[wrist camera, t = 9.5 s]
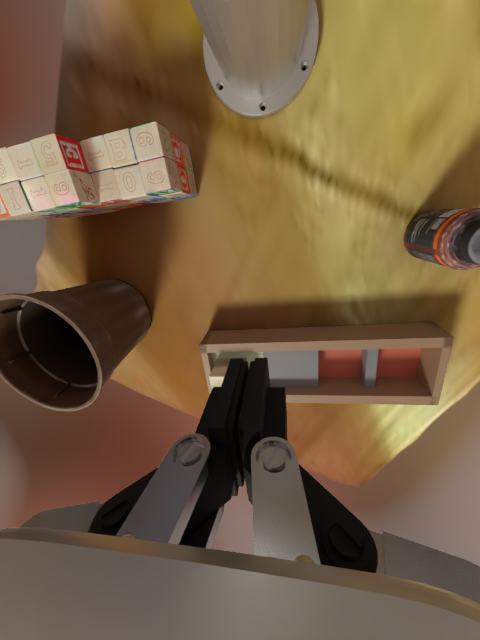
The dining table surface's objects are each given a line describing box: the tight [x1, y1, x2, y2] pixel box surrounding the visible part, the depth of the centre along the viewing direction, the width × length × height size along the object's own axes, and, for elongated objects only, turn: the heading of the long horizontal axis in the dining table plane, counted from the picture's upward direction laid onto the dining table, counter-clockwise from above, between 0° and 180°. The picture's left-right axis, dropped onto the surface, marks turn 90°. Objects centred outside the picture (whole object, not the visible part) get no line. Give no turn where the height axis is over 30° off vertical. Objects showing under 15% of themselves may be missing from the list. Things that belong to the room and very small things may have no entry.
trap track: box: [200, 322, 454, 405], centre depth 39 cm, size 11×34×5 cm, turn 97°
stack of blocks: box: [0, 121, 198, 220], centre depth 30 cm, size 21×6×12 cm, turn 98°
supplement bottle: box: [404, 208, 480, 270], centre depth 27 cm, size 6×6×11 cm
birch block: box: [209, 358, 247, 389], centre depth 40 cm, size 5×5×5 cm
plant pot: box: [0, 279, 151, 411], centre depth 37 cm, size 16×16×16 cm
